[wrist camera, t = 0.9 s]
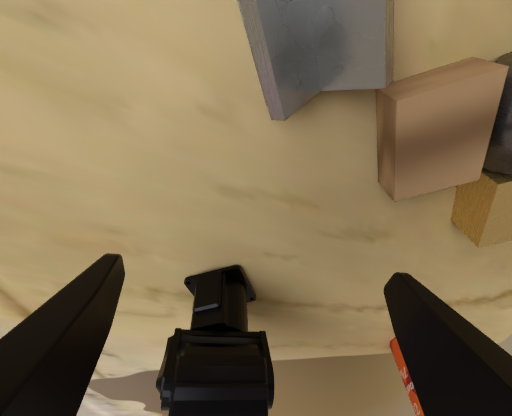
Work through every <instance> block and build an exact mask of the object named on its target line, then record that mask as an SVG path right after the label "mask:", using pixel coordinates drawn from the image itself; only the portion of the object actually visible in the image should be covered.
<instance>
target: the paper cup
mask: <svg viewBox="0 0 512 416" xmlns="http://www.w3.org/2000/svg"><path fill="white" fill-rule="evenodd" d="M390 347H391V350H392V353H393V355H394V358H395V361H396V363H397V366H398V369H399V372H400V374H401V377H402V380H403V382H404V384H405V387H406V390H407V392H408V395H409V398H410V400H411V403H412V406H413V408H414V411H415V413H416V416H424V414H423V411H422V408H421V405H420V403H419V400H418V397H417V395H416V392H415V389H414V386H413V384H412V381H411V378H410V375H409V373H408V370H407V367H406V364H405V362H404V359H403V356H402V353H401V351H400V348H399V345H398V342H397V339H396V337H395V338H394V339H392V340H391V342H390Z"/></svg>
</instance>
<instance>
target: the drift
mask: <svg viewBox="0 0 512 416" xmlns="http://www.w3.org/2000/svg"><path fill="white" fill-rule="evenodd" d="M451 220H452V221H453V222H454V223H455V224H456V225H457V226H458V227H459V228H460V230H461V231H462V232H463V233H464V234H465V235H466V236H467V237H468V238H469V239H470V240H471V241H472V242H473V243H474V244H475V245H476V246H477V247H478V248H479V247H483V246H487V245H492V244H496V243H500V242H505V241H509V240H512V174H504V173H498V172H494V171H491V170H488V169H486V168H483V167H482V171H481V175H480V179H479V180H476V181H473V182H469V183H465V184H461V185H458V186H457V191H456V196H455V201H454V206H453V210H452V215H451Z"/></svg>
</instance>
